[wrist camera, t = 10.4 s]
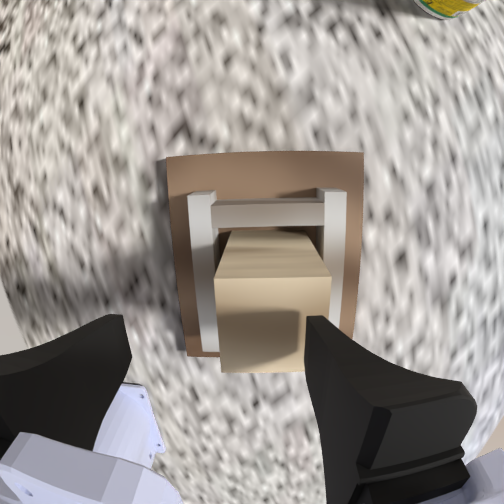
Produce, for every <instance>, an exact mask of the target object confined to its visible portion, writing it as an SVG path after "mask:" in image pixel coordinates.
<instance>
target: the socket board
mask: <svg viewBox="0 0 504 504" xmlns="http://www.w3.org/2000/svg"><path fill="white" fill-rule="evenodd" d="M166 167H167V183H168V198H169V211H170V223H171V234H172V244H173V254H174V263H175V272H176V280H177V288H178V296H179V303H180V311H181V318H182V325H183V331H184V338H185V344H186V350H187V356H191V357H220V351H219V340H218V328H217V316H216V303H215V289H214V277H215V274H216V271H217V269H218V266H219V263H220V261H221V258H222V255H223V253H224V250H225V247H226V245H227V242H228V239H229V237H230V234H231V232H232V231H239V230H304V231H305V232H306V234H307V235H308V237H309V239H310V240H311V242H312V244H313V245H314V247H315V249H316V251H317V252H318V254H319V256H320V257H321V259H322V261H323V262H324V264H325V266H326V267H327V269H328V271H329V273H330V274H331V276H332V281H331V295H330V308H329V319H328V320H329V321H330V322H331V323H332V324H334V325H335V326H336V327H337V328H338V329H339V330H341V331H342V332H343V333H344V334H346V335H347V336H348V337H349V338H351V339H352V337H353V330H354V322H355V313H356V304H357V294H358V284H359V272H360V259H361V243H362V223H363V189H364V153H360V152H333V151H262V152H234V153H216V154H200V155H187V156H175V157H166Z"/></svg>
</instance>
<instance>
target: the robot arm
mask: <svg viewBox="0 0 504 504" xmlns="http://www.w3.org/2000/svg"><path fill="white" fill-rule="evenodd" d="M131 359H132V354H131V350H130V346H129V342H128V337H127V333H126V329H125V324H124V319H123V315H117V314H108V315H105V316H103V317H100V318H98V319H96V320H94V321H92V322H90V323H88V324H86V325H84V326H82V327H80V328H78V329H76V330H74V331H72V332H70V333H68V334H65V335H63V336H61V337H59V338H57V339H55V340H52V341H50V342H47V343H45V344H42V345H39V346H36V347H34V348H30V349H27V350H23V351H19V352H15V353H11V354H6V355H1V356H0V504H183V502H182V499H181V497H180V495H179V493H178V491H177V490H176V489H175V488H174V487H173V486H172V485H171V484H170V483H169V482H168V480H167V479H166V478H165V477H164V476H162V475H160V474H158V473H157V472H155V471H153V470H151V467H152V463H153V460H154V457H155V454H156V452H157V453H165V450H166V448H165V445H164V443H163V440H162V437H161V434H160V431H159V428H158V425H157V422H156V419H155V416H154V413H153V410H152V407H151V404H150V400H149V397H148V394H147V390H146V389H145V388H144V387H143V386H140V385H131V384H123V383H122V382H123V380H124V378H125V376H126V374H127V371H128V368H129V365H130V362H131ZM304 367H305V375H306V382H307V386H308V390H309V394H310V397H311V401H312V405H313V408H314V412H315V416H316V420H317V424H318V428H319V433H320V440H321V447H322V455H323V465H324V475H325V487H326V501H327V504H504V451H503V450H502V448H499V449H496V450H494V451H492V452H490V453H487V454H485V455H483V456H480V457H478V458H476V459H474V460H472V461H471V462H469V463H468V464H467V465H466V466H465V465H464V463H463V461H462V459H461V458H463V456H464V454H465V452H464V450H463V448H462V447H461V443H462V441H463V440H464V438H465V436H466V434H467V433H468V431H469V429H470V427H471V425H472V423H473V421H474V419H475V416H476V412H477V404H476V402H475V399H474V398H473V397H472V395H471V394H470V393H469V391H468V390H467V389H466V387H465V386H464V385H463V383H462V382H460V381H453V380H447V379H441V378H436V377H431V376H428V375H424V374H420V373H417V372H414V371H411V370H408V369H405V368H403V367H400V366H398V365H395V364H393V363H391V362H388V361H386V360H384V359H382V358H381V357H379V356H377V355H375V354H373V353H371V352H370V351H368V350H367V349H365V348H364V347H362V346H361V345H359V344H358V343H356V342H355V341H353V340H352V339H351V338H349V337H348V336H347V335H346V334H344V333H343V332H342V331H341V330H339V329H338V328H337V327H336V326H335V325H334V324H332V323H331V322H330V321H329V320H328V319H327V318H325V317H324V316H323V315H316V316H306V333H305V349H304ZM141 394H142V395H141Z"/></svg>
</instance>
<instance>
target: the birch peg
mask: <svg viewBox="0 0 504 504" xmlns="http://www.w3.org/2000/svg"><path fill="white" fill-rule="evenodd" d="M331 281H332V276H331V274H330V273H329V271H328V269H327V267H326V266H325V264H324V262H323V261H322V259H321V257H320V256H319V254H318V252H317V251H316V249H315V247H314V245H313V244H312V242H311V240H310V239H309V237H308V235H307V234H306V232H305V231H304V230H239V231H232V232H231V234H230V237H229V239H228V242H227V245H226V247H225V250H224V253H223V255H222V258H221V261H220V263H219V266H218V269H217V271H216V274H215V277H214V289H215V303H216V316H217V328H218V340H219V351H220V362H221V372H223V373H273V372H303V371H305V367H304V349H305V333H306V316H316V315H323V316H324V317H325V318H327V319H329V308H330V295H331Z"/></svg>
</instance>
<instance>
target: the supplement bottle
mask: <svg viewBox="0 0 504 504" xmlns="http://www.w3.org/2000/svg"><path fill="white" fill-rule="evenodd" d="M414 1H415V3H416V4H417V5H418V6H419V7H421V8H422V9H423V10H424V11H426V12H427V13H429V14H431V15H433V16H435V17H437V18H440V19H445V20H450V19H455V18H457V17H459V16H460V15H462V14H464V13H466V12H467V11H469V10H471V9H472V8H474V7H476V6H477V5H479V4H480V3H482V2H484V1H486V0H414Z"/></svg>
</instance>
